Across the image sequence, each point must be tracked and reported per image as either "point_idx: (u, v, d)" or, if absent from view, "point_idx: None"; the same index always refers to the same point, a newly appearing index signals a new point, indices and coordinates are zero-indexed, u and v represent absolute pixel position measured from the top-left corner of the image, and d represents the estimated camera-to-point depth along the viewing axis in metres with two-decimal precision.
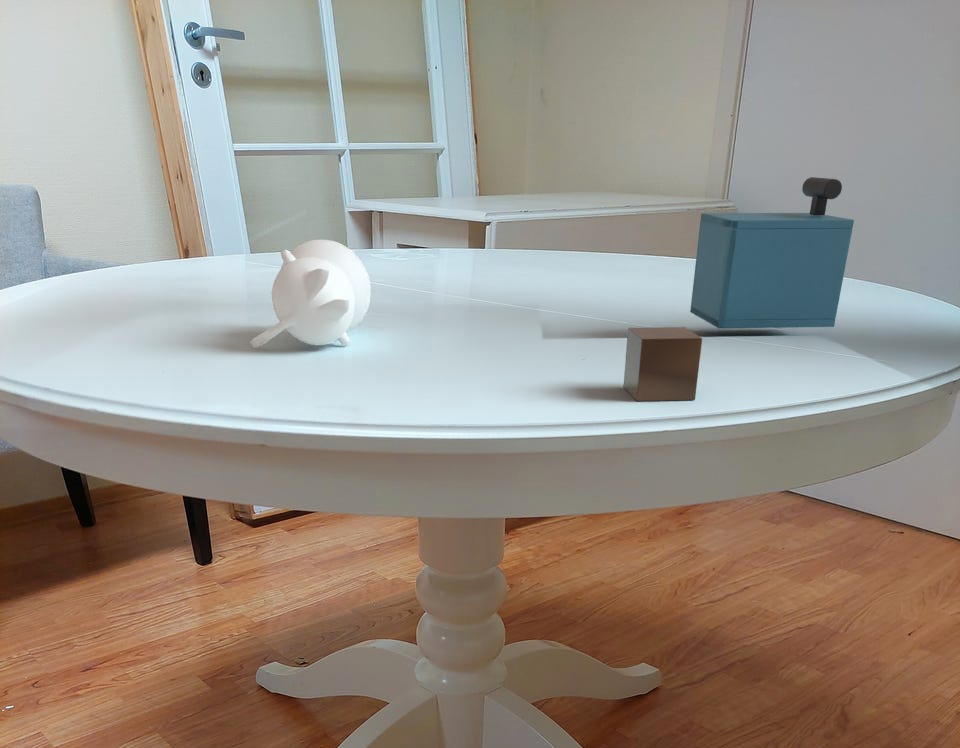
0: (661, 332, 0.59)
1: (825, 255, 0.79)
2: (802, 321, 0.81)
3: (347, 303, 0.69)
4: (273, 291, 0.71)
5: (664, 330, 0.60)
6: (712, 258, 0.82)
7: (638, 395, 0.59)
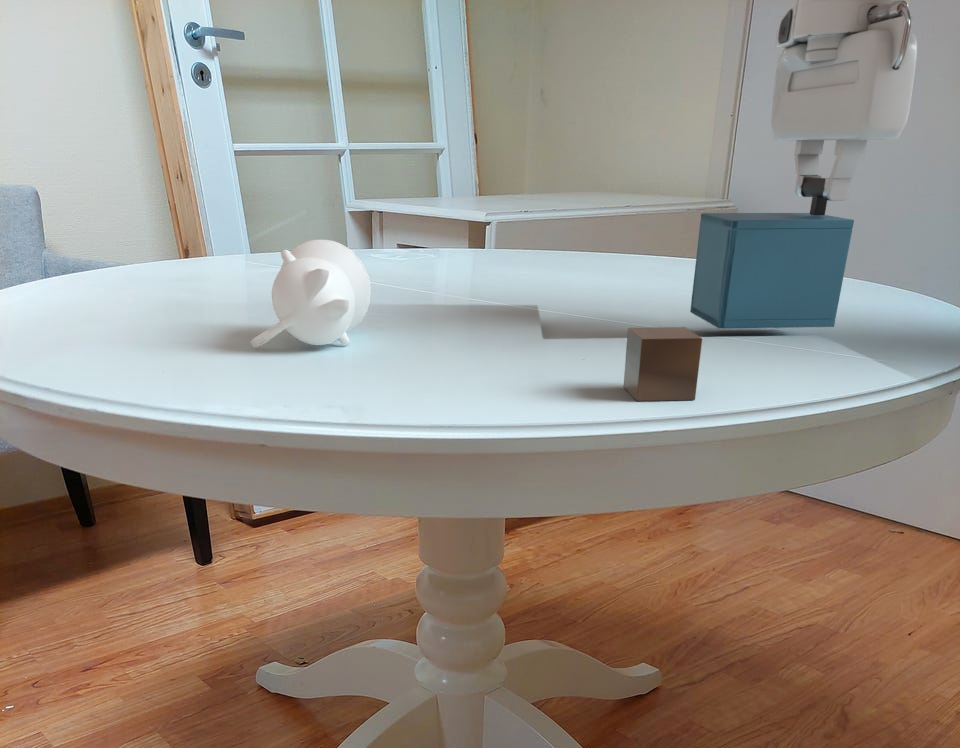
0: (661, 332, 0.59)
1: (825, 255, 0.79)
2: (802, 321, 0.81)
3: (347, 303, 0.69)
4: (273, 291, 0.71)
5: (664, 330, 0.60)
6: (712, 258, 0.82)
7: (638, 395, 0.59)
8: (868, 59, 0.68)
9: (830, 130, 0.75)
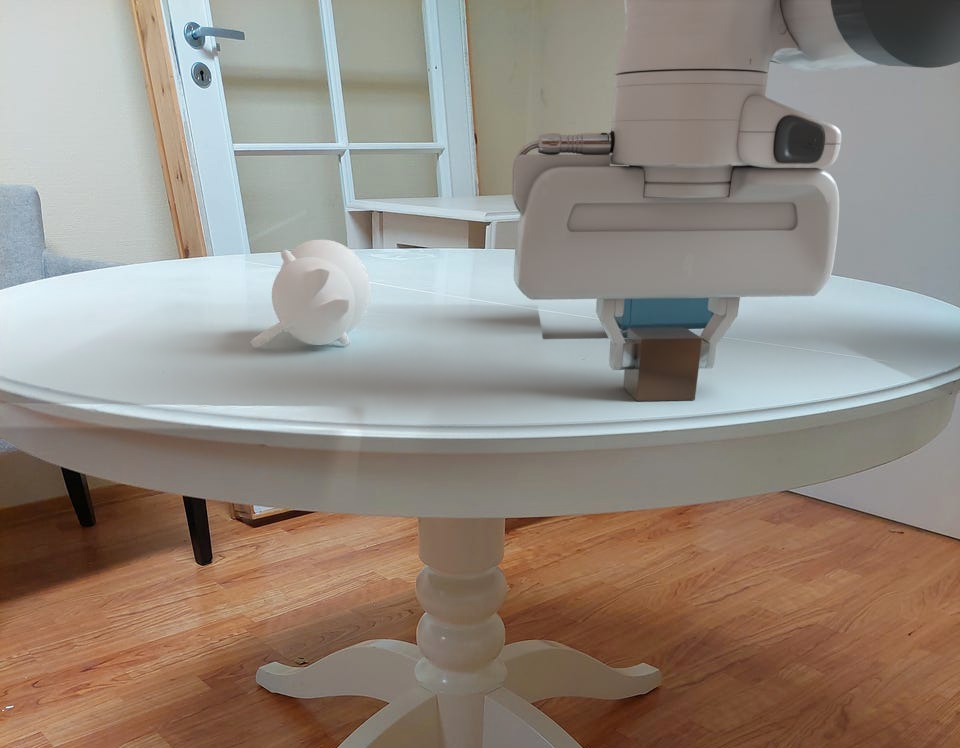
0: (661, 332, 0.59)
1: None
2: None
3: (347, 303, 0.69)
4: (273, 291, 0.71)
5: (664, 330, 0.60)
6: None
7: (638, 395, 0.59)
8: None
9: None
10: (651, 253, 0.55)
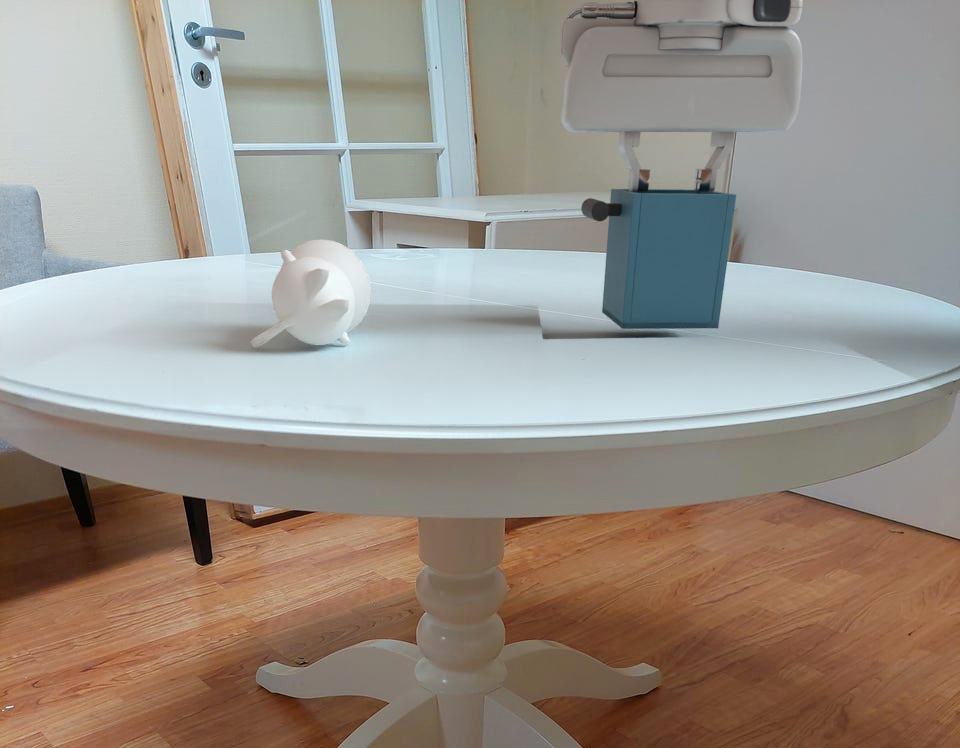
0: None
1: (664, 220, 0.76)
2: (724, 234, 0.77)
3: (347, 303, 0.69)
4: (273, 291, 0.71)
5: None
6: None
7: None
8: None
9: None
10: (664, 94, 0.74)
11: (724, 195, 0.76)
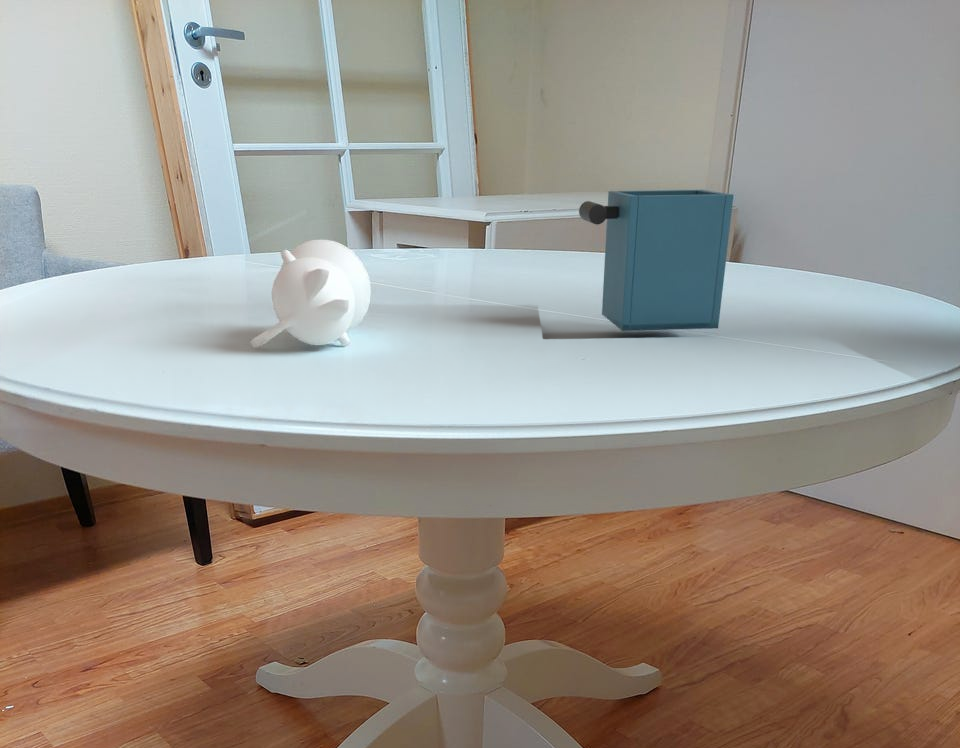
0: None
1: (661, 222, 0.76)
2: (722, 234, 0.77)
3: (347, 303, 0.69)
4: (273, 291, 0.71)
5: None
6: None
7: None
8: None
9: None
10: None
11: (721, 195, 0.76)
